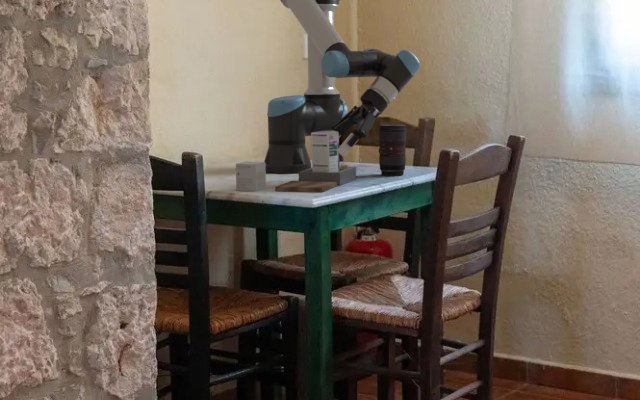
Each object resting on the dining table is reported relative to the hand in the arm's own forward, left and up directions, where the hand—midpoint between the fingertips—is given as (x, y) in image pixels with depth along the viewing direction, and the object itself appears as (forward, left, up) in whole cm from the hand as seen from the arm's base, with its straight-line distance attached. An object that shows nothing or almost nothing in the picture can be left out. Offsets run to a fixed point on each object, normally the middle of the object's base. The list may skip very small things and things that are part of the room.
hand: (330, 152), depth 263 cm
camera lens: (+12, +22, -9) cm, 27 cm away
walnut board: (-3, -14, -9) cm, 16 cm away
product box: (-17, -19, -9) cm, 27 cm away
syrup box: (-2, 0, -9) cm, 9 cm away
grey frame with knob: (-2, +2, -9) cm, 9 cm away
